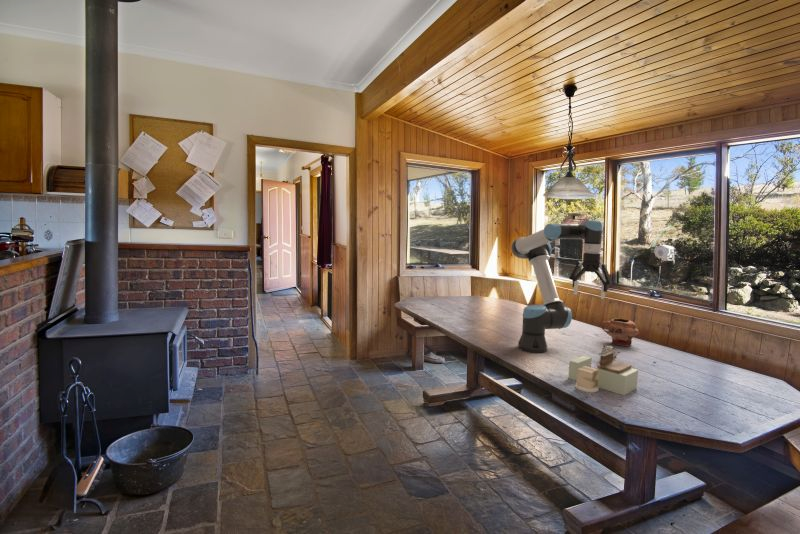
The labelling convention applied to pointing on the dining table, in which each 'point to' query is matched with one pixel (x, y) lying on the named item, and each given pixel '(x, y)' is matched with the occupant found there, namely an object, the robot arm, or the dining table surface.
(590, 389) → the cream coaster
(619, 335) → the decorative planter
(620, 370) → the walnut cover
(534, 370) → the dining table surface
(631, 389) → the pale green split block
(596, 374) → the maple block
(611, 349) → the game die
